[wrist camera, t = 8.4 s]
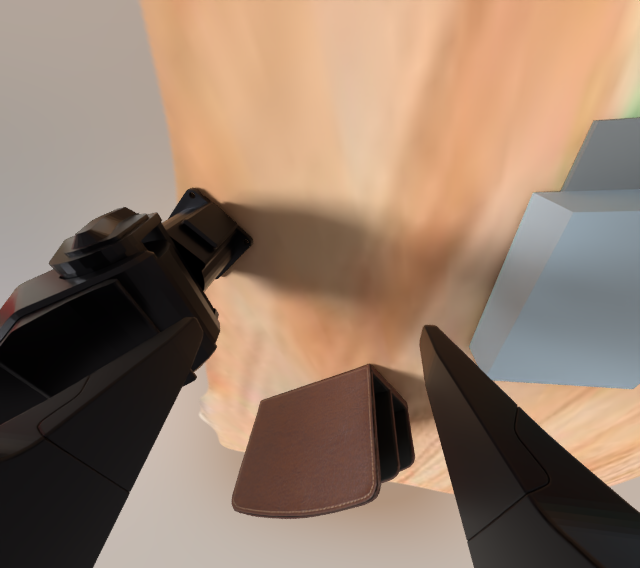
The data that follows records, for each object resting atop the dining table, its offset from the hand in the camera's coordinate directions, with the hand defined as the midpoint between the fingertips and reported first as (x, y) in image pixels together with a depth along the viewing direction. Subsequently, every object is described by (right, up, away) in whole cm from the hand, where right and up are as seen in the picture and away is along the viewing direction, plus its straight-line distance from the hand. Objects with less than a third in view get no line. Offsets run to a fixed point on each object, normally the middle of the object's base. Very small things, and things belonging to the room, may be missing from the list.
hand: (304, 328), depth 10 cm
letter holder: (+2, -15, +27) cm, 32 cm away
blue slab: (+16, 0, +10) cm, 19 cm away
